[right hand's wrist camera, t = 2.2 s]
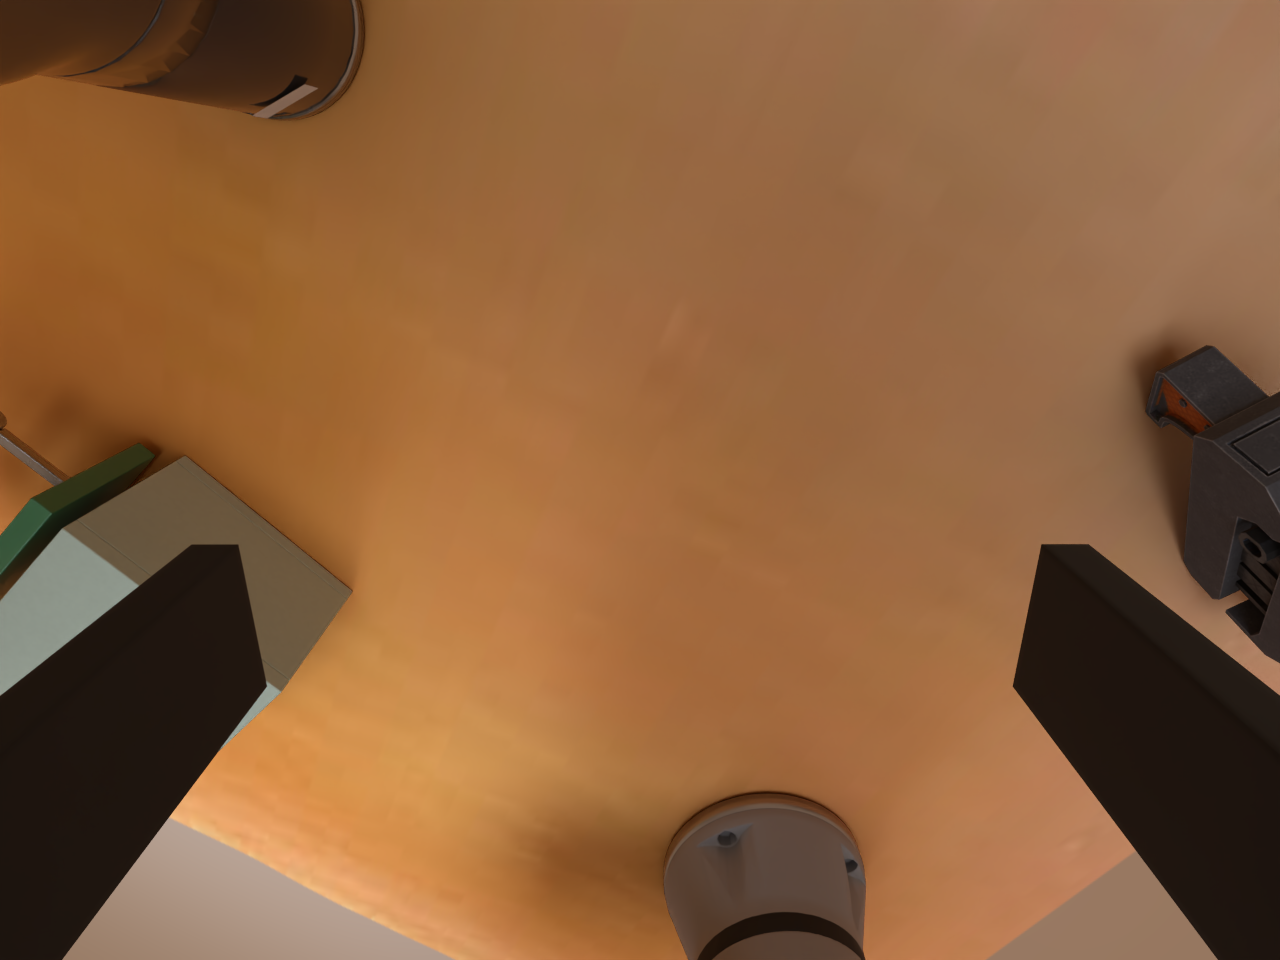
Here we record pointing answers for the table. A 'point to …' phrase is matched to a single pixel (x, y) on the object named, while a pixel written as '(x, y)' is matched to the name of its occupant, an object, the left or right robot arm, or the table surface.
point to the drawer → (59, 501)
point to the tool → (1229, 485)
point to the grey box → (144, 543)
